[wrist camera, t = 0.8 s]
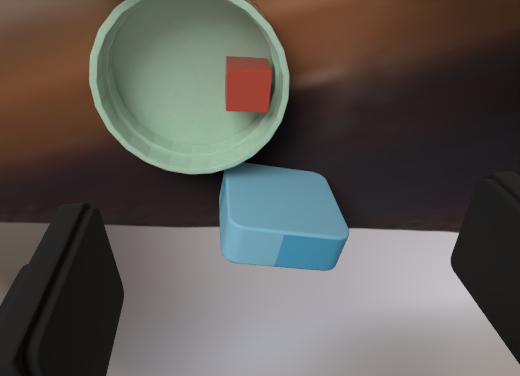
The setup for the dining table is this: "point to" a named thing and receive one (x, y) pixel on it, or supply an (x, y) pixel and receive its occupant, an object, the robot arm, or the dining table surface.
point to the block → (247, 84)
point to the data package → (279, 218)
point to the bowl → (184, 81)
